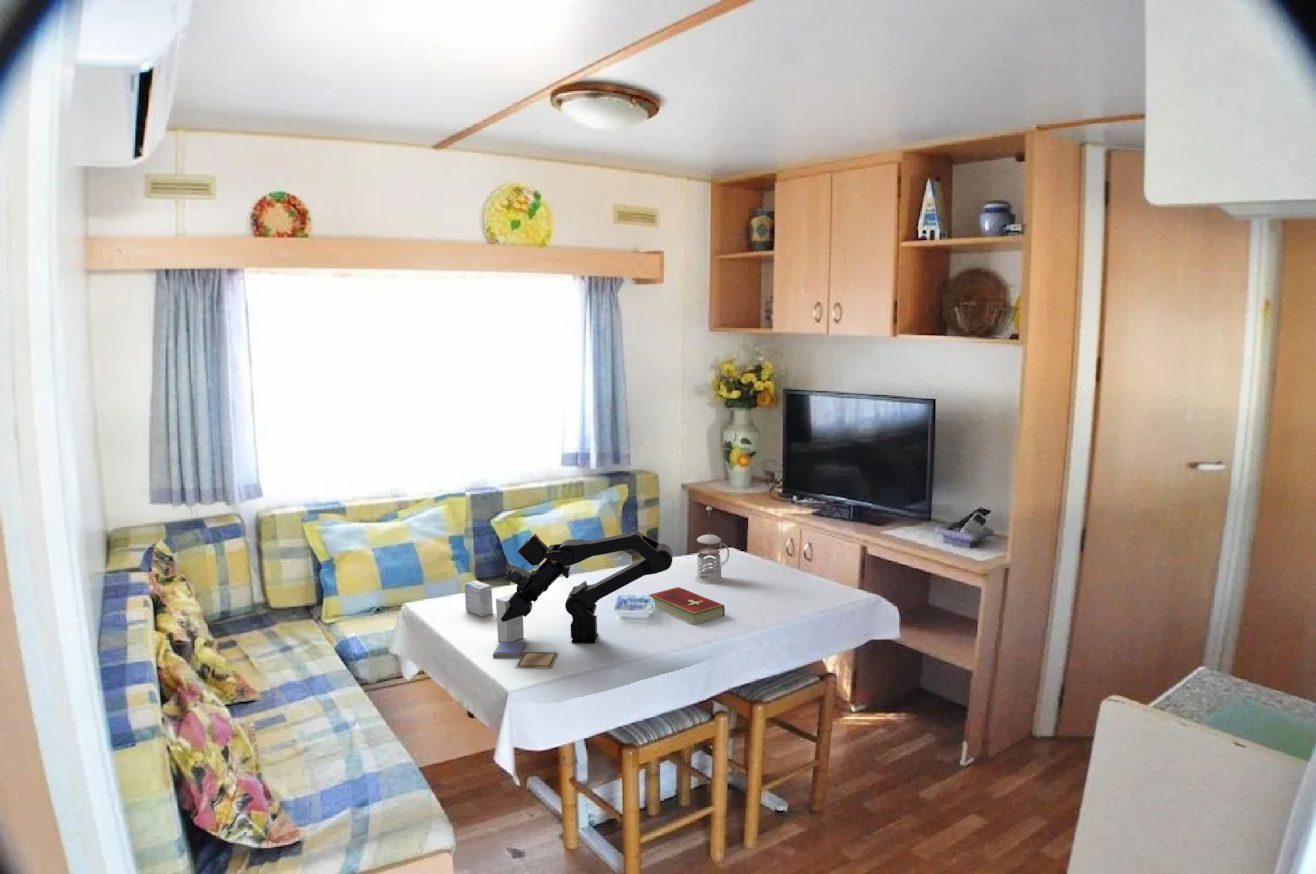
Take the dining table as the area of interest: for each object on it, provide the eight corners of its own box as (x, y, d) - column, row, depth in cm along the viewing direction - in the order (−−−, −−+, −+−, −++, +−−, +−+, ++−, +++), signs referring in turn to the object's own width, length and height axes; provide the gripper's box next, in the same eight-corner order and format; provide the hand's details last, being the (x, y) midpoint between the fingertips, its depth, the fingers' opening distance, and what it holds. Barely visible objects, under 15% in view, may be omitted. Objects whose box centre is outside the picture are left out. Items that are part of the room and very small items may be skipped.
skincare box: (513, 633, 235) (512, 592, 233) (524, 637, 232) (522, 595, 230) (496, 640, 230) (495, 598, 228) (507, 644, 227) (505, 601, 225)
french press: (692, 575, 285) (692, 503, 282) (725, 574, 287) (726, 502, 283) (696, 584, 276) (696, 510, 272) (731, 583, 277) (732, 509, 273)
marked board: (557, 654, 220) (557, 652, 220) (551, 668, 212) (551, 666, 212) (524, 653, 221) (524, 651, 221) (515, 667, 212) (515, 665, 212)
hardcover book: (679, 598, 264) (679, 585, 263) (724, 617, 247) (724, 603, 247) (648, 607, 257) (648, 593, 256) (693, 626, 240) (693, 612, 240)
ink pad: (526, 645, 226) (526, 641, 226) (519, 658, 218) (519, 653, 218) (500, 645, 227) (500, 641, 226) (493, 657, 219) (492, 652, 219)
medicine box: (493, 613, 251) (492, 585, 249) (480, 617, 247) (479, 589, 246) (477, 607, 256) (476, 579, 255) (465, 611, 253) (464, 583, 251)
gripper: (528, 547, 237) (490, 584, 238) (515, 567, 218) (475, 607, 220) (556, 574, 238) (519, 611, 239) (546, 596, 219) (506, 636, 221)
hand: (504, 615), depth 230 cm, fingers closed on skincare box, 7 cm apart
